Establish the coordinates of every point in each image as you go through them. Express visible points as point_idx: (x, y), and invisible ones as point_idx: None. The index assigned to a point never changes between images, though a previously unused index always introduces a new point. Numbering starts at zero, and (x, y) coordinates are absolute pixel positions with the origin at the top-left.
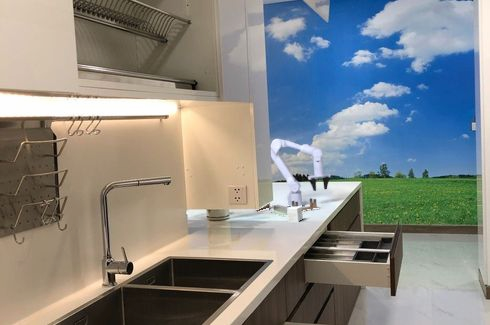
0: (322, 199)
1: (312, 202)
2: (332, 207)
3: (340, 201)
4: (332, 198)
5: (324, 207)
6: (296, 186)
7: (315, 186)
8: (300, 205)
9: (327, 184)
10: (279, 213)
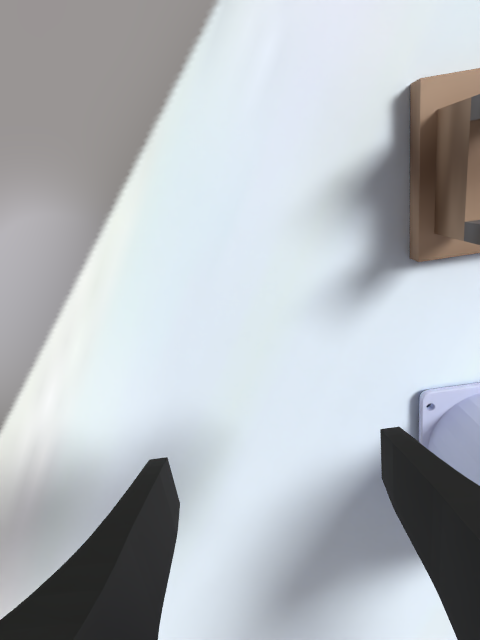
0: None
1: (467, 221)
2: (220, 97)
3: (15, 431)
4: None
5: (297, 176)
6: None
7: (438, 478)
8: (477, 398)
9: (103, 526)
10: None
